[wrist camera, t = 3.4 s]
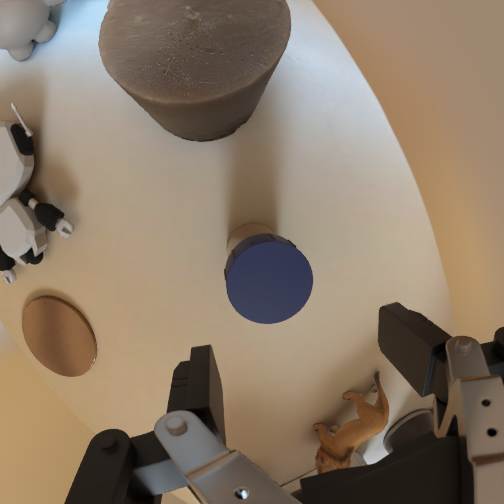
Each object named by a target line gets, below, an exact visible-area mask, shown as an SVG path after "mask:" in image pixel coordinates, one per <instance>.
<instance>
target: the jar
mask: <svg viewBox="0 0 504 504" xmlns="http://www.w3.org/2000/svg"><path fill="white" fill-rule="evenodd" d="M263 233H271V234H274V233H273V232H272V231H271V230H270V229H268V228H267V227H265V226H263V225H261V224H256V223H250V224H245V225H243V226H241V227H239V228H237V229H236V230H235V231H234V232H233V233H232V235H231V236H230V238H229V241H228V245H227V252H228V257H229V255H230V253H231V250H233V249H234V248H235V247H236V246H237V245H238V244H239V243H240V242H241V241H243V240H244V239H246V238H248V236H249V237H250V236H253V235H256V234H263Z"/></svg>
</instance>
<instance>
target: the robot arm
mask: <svg viewBox="0 0 504 504" xmlns="http://www.w3.org/2000/svg"><path fill="white" fill-rule="evenodd" d="M378 343H379V347H380V350H381V352H382V353H383V354H384V355H385V356H386V358H387V359H388V360H389V361H390V362H391V363H392V364H393V365H394V367H395V368H396V369H397V370H398V371H399V372H400V373H401V374H402V376H403V377H404V378H405V379H406V380H407V381H408V382H409V384H410V385H411V386H412V387H413V388H414V389H415V390H416V392H417V393H418V394H419V395H420V396H421V397H422V398H423V397H425V396H427V395H430V394H432V393H433V394H434V395H435V397H434V401H433V409H431V410H427V409H422V410H418V411H415V412H413V413H411V414H409V415H407V416H406V417H404V418H403V419H401V420H400V421H399V422H398V423H396V424H395V425H394V426H393V427H392V428H391V430H390V431H389V432H388V433H387V435H386V437H385V439H384V447H385V449H386V450H387V451H388V453H389V455H387V456H386V457H384V458H383V459H381V460H380V461H378V462H377V463H374V464H371V465H364V466H357V467H350V468H341V469H334V470H331V471H328V472H324V473H321V474H317V475H313V476H309V477H305V478H301V479H300V489H298V490H296V491H294V492H292V493H290V494H289V493H288V492H287V491H286V490H284V489H283V488H282V487H281V486H279V485H278V484H277V483H276V482H274V481H273V480H272V479H271V478H270V477H268V476H267V475H266V474H265V473H264V472H263V471H261V470H260V469H259V468H258V467H257V466H256V465H255V464H253V463H252V462H251V461H250V460H249V459H248V458H247V457H246V456H245V455H243V454H242V453H241V452H240V451H238V450H236V449H235V450H233V451H230V450H229V449H228V448H227V447H226V437H225V423H224V407H223V391H222V384H221V379H220V375H219V371H218V368H217V364H216V360H215V357H214V353H213V349H212V346H211V345H204V346H198V347H192V348H191V356H190V361H183V362H180V363H179V364H178V366H177V367H176V368H175V370H174V372H173V378H172V380H173V381H172V384H171V389H170V395H169V401H168V407H167V413H166V414H165V415H163V416H162V417H161V418H160V419H159V420H158V421H157V422H156V424H155V427H154V430H153V431H151V432H149V433H146V434H143V435H139V436H136V437H132V438H129V436H128V435H127V434H126V433H125V432H124V431H122V430H119V429H108V430H105V431H102V432H100V433H98V434H97V435H96V436H94V437H93V439H92V440H91V442H90V444H89V446H88V448H87V450H86V453H85V455H84V457H83V460H82V462H81V464H80V467H79V469H78V471H77V474H76V476H75V479H74V481H73V483H72V486H71V488H70V491H69V493H68V496H67V498H66V501H65V503H64V504H161V499H162V493H165V492H169V491H172V490H176V489H179V488H182V487H185V486H187V487H188V489H189V490H190V491H191V493H192V494H193V495H194V496H195V498H196V499H197V500H198V501H199V503H200V504H504V327H501V328H499V329H498V330H497V331H496V332H495V335H494V340H493V341H492V342H488V343H483V344H479V342H478V341H476V340H475V339H473V338H471V337H467V336H456V337H452V336H450V335H449V334H448V333H446V332H445V331H444V330H442V329H441V328H440V327H438V326H437V325H436V324H435V325H434V323H433V322H432V321H430V320H428V319H427V318H426V317H425V316H423V315H422V314H421V313H418V312H415V311H412V310H408V309H406V308H405V307H404V306H402V305H401V304H400V303H398V302H395V303H392V304H388V305H385V306H382V307H380V309H379V327H378Z"/></svg>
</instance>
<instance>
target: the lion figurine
mask: <svg viewBox="0 0 504 504" xmlns="http://www.w3.org/2000/svg"><path fill="white" fill-rule="evenodd" d="M374 377H375V383H376V385H374V386H373V387H372V388H371V391H372V392H373V393H375V392H378V397H377V400H376V402H375V405H374V406H372V405H370V404H368V403H367V402H365V400H364V398H363V395H362V394H357V393H354V392H347V393H345V394H344V395H343V398H344V399H345V400H350V399H351V398H353V399H354V400H355V401H356V405H357V413H358V415H359V417H360V419H357V420H353V421H350V422H348V423H347V424H345V425H344V426H342V427H341V428H340V429H339V426H338V425H333V426H332V427H330V429H329V430H330V432H331V433H334V436H331V435H329V434H328V433H327V432H326V429H325V426H323V425H322V424H315V425H314V426H313V429H314V430H315V431H319V438H320V441H321V443H322V445H321V446H320V448H319V449H318V451H317V455H316V457H315V459H316V467H317V474H321V473H324V472H328V471H331V470H334V469H341V468H350V465H351V459H350V458H351V456H352V453H353V452H354V451H355V450H356V449H357V448H358V447H359V446H360V445H361V444H362V443H363V442H364V441H366V440H367V439H368V438H370V437H372V436H374V435H376V434H378V433H380V432H381V431H382V430H383V429H384V428H385V426H386V425H387V423H388V417H389V405H388V401H387V398H386V396H385V393H384V391H383V389H382V387H381V384H380V381H379V371H377V372H376V373H375V375H374Z"/></svg>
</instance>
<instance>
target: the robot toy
mask: <svg viewBox="0 0 504 504" xmlns="http://www.w3.org/2000/svg"><path fill="white" fill-rule="evenodd" d="M11 107H12V109H13V110H14V111H15V113H16V115H17V116H18V118H19V120H20V122H21V123H22V124H18V123H15V122H12V121H0V271H3V279H4V281H5V282H6V283H7V284H9V283H10V282H11V283H14V282H15V281H16V273H15V272H14V270H13V269H12V267H13V266H15V265H16V264H15V260H16V261H17V262H18V263H19V264H20V265H24V264H28V263H29V262H30V263H31V264H34V265H35V264H38V263H40V262H41V261H42V259H43V251H44V250H46V247H47V244H48V240H47V236H46V232H45V230H46V228H47V229H48V230H50V231H55V230H57V232H58V233H59V235H60V236H62V237H64V238H68V237H70V235H71V232H69V231H68V230H70V231H73V229H74V224H73V223H72V222H71V221H70V220H69V219H67V218H63V217H64V213H63V212H61V211H60V210H59V209H57V208H56V207H55V206H53V205H52V204H46V203H39V202H37V201H36V200H35V199H34V197H35V194H34V193H32V192H31V191H30V190H28V189H24V188H25V187H26V185H27V183H28V182H29V180H30V177H31V175H32V171H33V168H34V156H33V153H34V152H35V151H34V146H33V140H32V137H31V135H33V133H32V131H31V130H30V129H28V127H27V126H26V124H25V122H24V121H23V119H22V117H21V115H20V114H19V112H18V110H17V107H16V105H15V104H14V103H12V102H11ZM65 228H67V229H68V230H67V229H65ZM14 259H15V260H14Z"/></svg>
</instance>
